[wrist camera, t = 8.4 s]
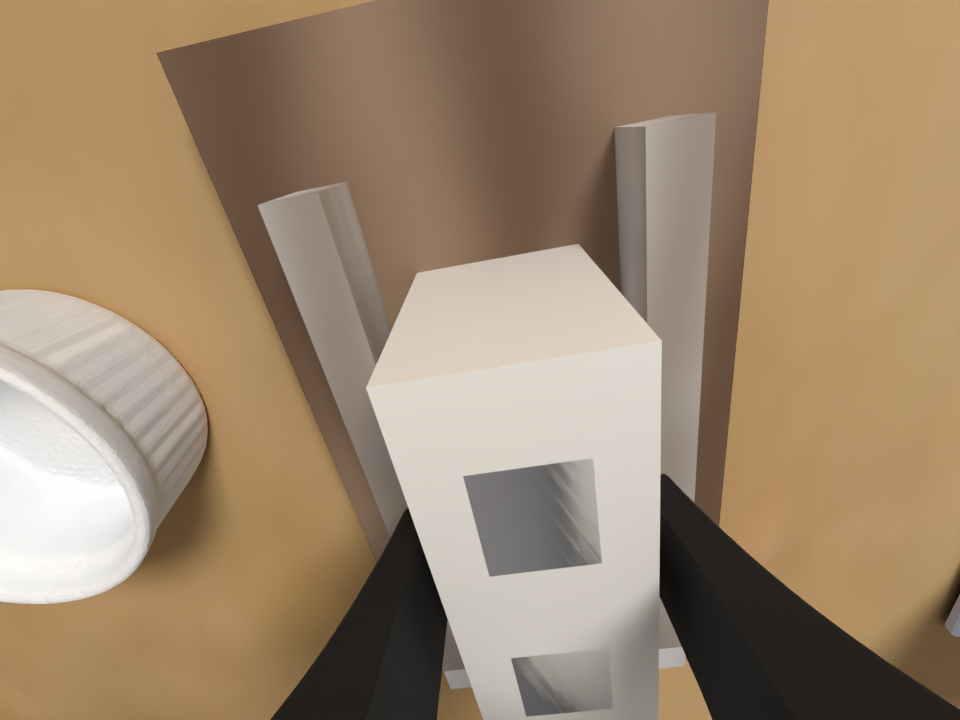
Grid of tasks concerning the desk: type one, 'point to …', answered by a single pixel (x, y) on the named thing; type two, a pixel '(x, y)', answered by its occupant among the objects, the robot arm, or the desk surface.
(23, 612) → the desk surface
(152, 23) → the desk surface
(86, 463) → the ramekin
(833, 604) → the desk surface
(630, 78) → the cradle
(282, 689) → the desk surface
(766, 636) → the robot arm
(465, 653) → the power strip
